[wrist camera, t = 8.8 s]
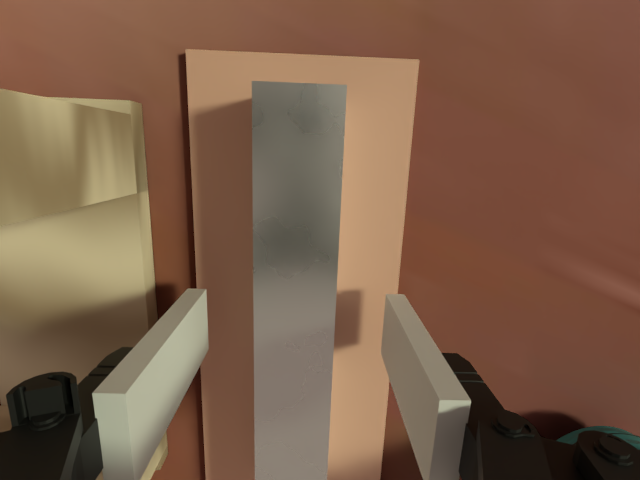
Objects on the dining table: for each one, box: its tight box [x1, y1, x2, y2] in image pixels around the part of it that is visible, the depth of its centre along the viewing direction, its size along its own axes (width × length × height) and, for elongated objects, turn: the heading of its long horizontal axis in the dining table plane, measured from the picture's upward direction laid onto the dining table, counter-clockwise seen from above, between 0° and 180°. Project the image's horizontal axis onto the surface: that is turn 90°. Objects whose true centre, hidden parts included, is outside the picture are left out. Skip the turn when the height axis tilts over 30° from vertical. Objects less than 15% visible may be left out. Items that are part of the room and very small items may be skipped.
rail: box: [252, 81, 347, 480], centre depth 15 cm, size 18×3×3 cm, turn 178°
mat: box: [186, 49, 419, 480], centre depth 17 cm, size 21×9×1 cm, turn 178°
